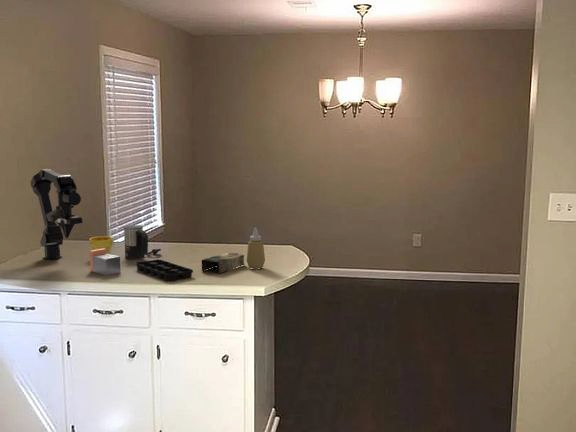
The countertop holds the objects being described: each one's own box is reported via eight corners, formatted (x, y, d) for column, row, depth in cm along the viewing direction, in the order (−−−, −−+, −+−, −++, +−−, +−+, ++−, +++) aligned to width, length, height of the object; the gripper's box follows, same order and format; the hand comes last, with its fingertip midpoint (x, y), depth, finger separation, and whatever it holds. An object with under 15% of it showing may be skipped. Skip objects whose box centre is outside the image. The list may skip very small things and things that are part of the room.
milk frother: (120, 258, 318) (119, 227, 316) (140, 252, 332) (139, 222, 330) (145, 261, 312) (144, 229, 310) (164, 254, 327) (163, 224, 324)
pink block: (90, 270, 292) (89, 250, 290) (104, 267, 297) (103, 248, 296) (104, 274, 285) (103, 254, 284) (118, 271, 290) (117, 251, 289)
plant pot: (107, 261, 311) (106, 240, 309) (86, 260, 313) (85, 239, 312) (117, 257, 321) (116, 236, 320) (97, 256, 323) (96, 235, 322)
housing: (93, 271, 291) (92, 256, 289) (107, 269, 296) (106, 253, 295) (106, 275, 284) (105, 259, 283) (120, 272, 289) (120, 256, 288)
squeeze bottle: (267, 267, 298) (267, 226, 296) (261, 271, 291) (260, 229, 288) (250, 266, 301) (250, 226, 298) (243, 269, 293) (243, 229, 291)
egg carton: (155, 266, 303) (155, 258, 303) (203, 275, 285) (203, 267, 284) (124, 273, 289) (124, 265, 289) (172, 284, 271) (172, 274, 271)
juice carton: (228, 263, 307) (228, 250, 306) (246, 266, 302) (246, 252, 301) (200, 272, 290) (200, 259, 289) (219, 276, 285) (218, 261, 284)
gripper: (37, 203, 302) (39, 237, 305) (59, 207, 290) (61, 242, 293) (59, 201, 311) (61, 234, 313) (82, 204, 299) (84, 239, 301)
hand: (66, 237), depth 305 cm, fingers closed
